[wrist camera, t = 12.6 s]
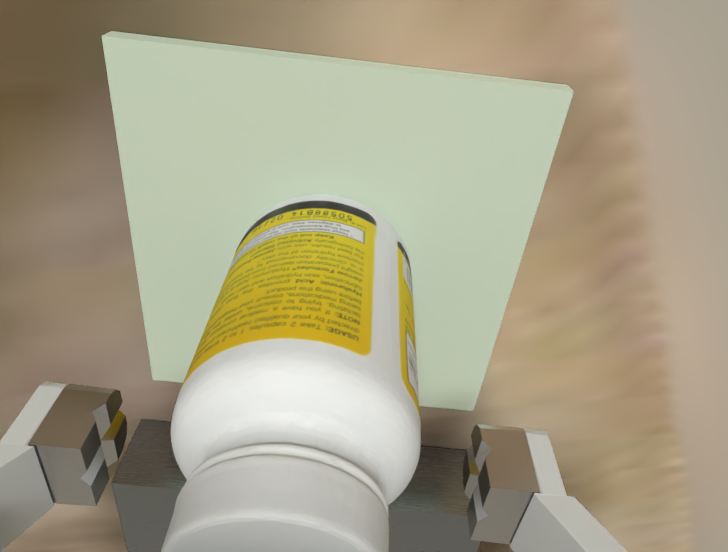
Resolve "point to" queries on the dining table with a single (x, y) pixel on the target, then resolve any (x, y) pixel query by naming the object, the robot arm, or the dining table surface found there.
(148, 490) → the frame
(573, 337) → the dining table surface
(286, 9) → the dining table surface
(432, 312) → the mat
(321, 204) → the supplement bottle
